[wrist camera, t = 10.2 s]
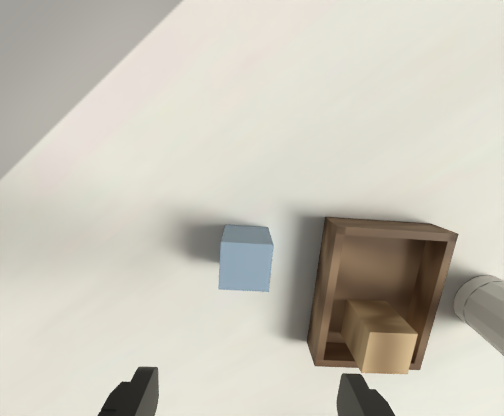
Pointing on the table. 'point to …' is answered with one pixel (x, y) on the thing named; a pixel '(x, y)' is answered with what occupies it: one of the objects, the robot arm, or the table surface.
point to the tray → (377, 280)
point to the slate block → (245, 258)
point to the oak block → (378, 337)
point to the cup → (483, 308)
